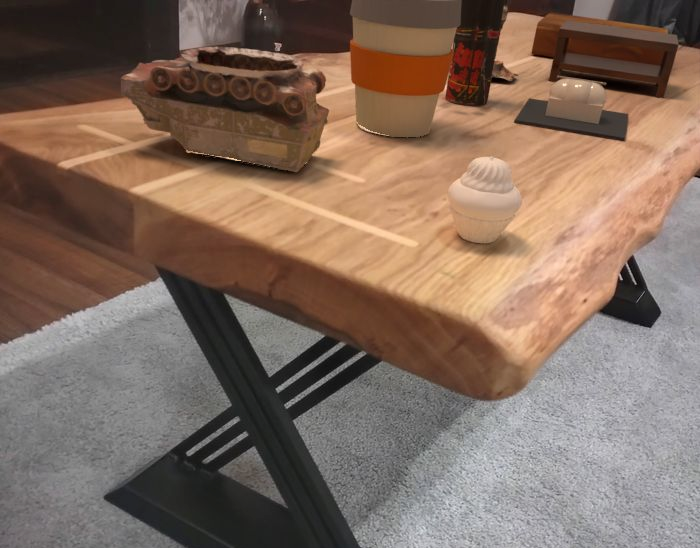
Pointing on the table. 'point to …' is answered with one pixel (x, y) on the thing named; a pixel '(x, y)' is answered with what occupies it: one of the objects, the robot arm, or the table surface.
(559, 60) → the rack
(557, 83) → the cream arch-topped block
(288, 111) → the toy armored vehicle
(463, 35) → the deodorant
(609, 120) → the mat
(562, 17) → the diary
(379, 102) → the reusable coffee cup
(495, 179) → the muffin
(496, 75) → the plant with pod
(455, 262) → the table surface
